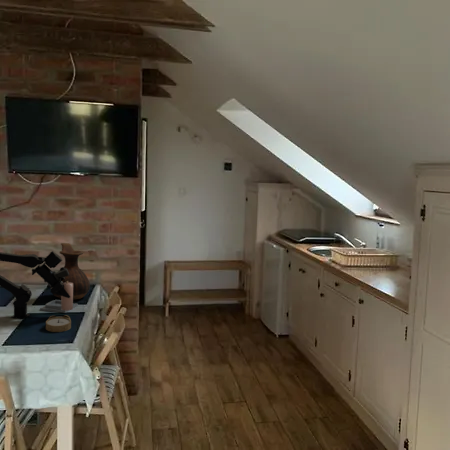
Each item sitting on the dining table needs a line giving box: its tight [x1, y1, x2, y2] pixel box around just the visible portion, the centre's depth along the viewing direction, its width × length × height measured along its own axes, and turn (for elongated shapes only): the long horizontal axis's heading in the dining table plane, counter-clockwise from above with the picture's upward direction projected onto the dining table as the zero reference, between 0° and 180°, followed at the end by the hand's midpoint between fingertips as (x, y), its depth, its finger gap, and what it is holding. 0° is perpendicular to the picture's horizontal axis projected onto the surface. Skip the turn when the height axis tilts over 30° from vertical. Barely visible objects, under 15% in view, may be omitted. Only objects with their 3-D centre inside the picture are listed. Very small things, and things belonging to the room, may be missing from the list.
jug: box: [53, 242, 91, 301], centre depth 287 cm, size 22×22×30 cm
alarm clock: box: [45, 314, 72, 333], centre depth 236 cm, size 11×5×15 cm
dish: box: [39, 299, 79, 314], centre depth 267 cm, size 14×14×3 cm
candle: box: [60, 281, 74, 311], centre depth 253 cm, size 6×6×14 cm
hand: (70, 296), depth 253 cm, fingers closed on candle, 6 cm apart
